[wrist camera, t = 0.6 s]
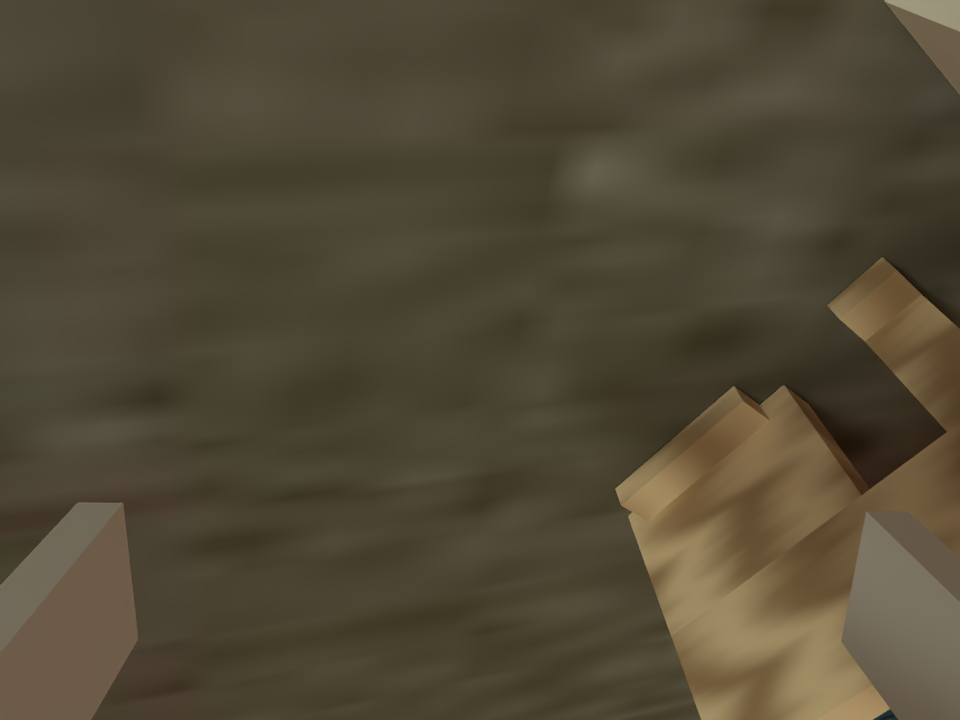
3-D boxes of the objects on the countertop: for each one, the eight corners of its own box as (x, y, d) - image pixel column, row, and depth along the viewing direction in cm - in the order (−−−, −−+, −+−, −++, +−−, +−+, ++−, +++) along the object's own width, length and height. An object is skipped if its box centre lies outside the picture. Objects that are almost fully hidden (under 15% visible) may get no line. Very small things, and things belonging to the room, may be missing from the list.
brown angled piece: (677, 544, 44) (784, 803, 33) (601, 500, 42) (689, 765, 30) (952, 325, 38) (1204, 555, 26) (882, 256, 35) (1128, 479, 24)
